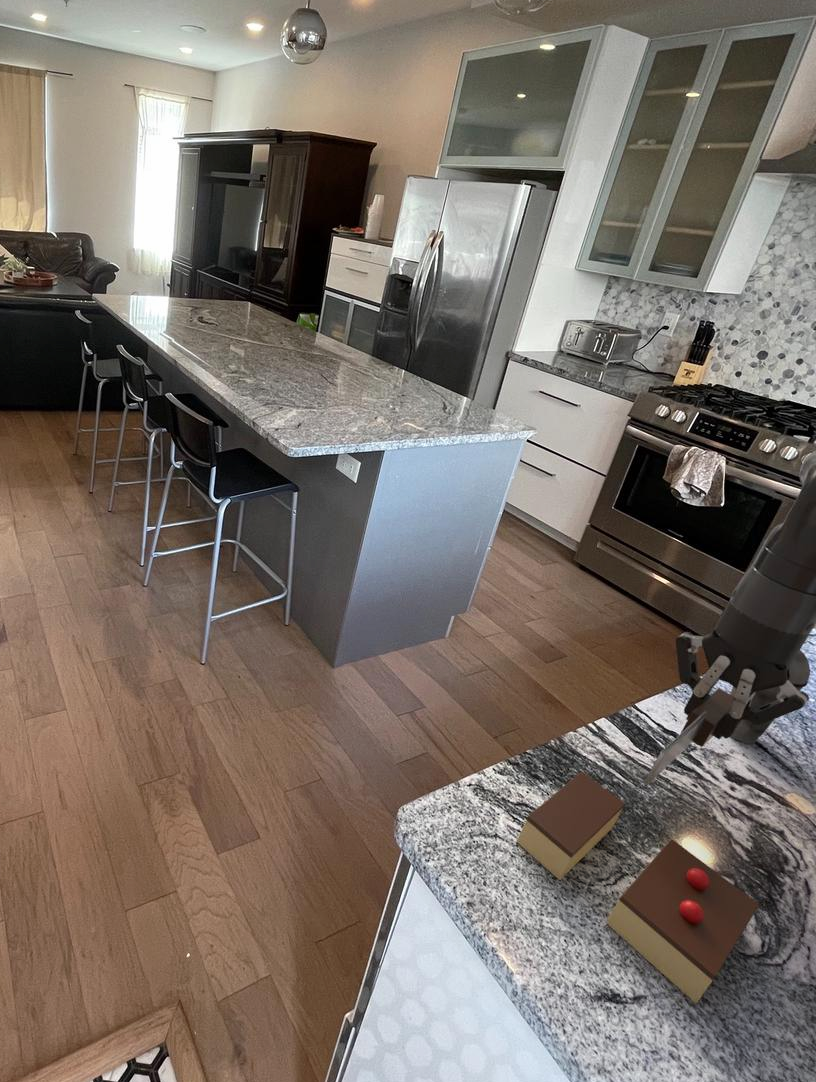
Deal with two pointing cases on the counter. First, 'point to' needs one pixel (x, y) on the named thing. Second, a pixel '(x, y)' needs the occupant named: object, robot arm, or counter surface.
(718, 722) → the knife
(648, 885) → the sheet cake
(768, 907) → the counter surface
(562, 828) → the cake slice
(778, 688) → the beverage cup
